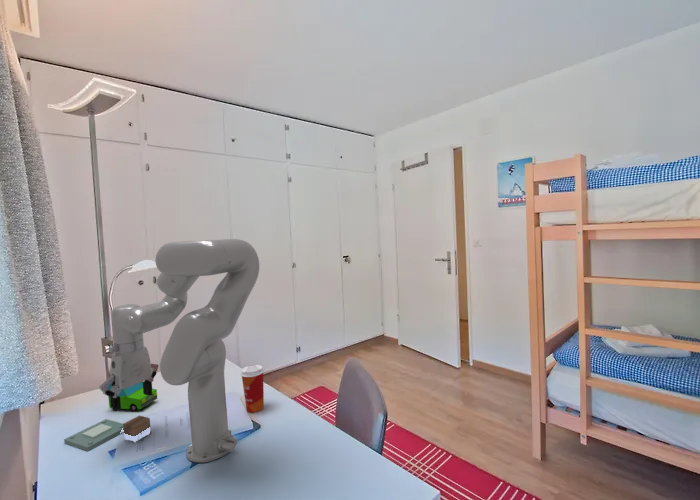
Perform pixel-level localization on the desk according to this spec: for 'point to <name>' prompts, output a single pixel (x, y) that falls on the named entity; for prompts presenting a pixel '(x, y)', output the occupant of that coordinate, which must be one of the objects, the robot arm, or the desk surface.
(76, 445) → the baseplate
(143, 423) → the walnut cube
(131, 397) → the toy car
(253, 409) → the paper cup
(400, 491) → the desk surface
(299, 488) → the desk surface
